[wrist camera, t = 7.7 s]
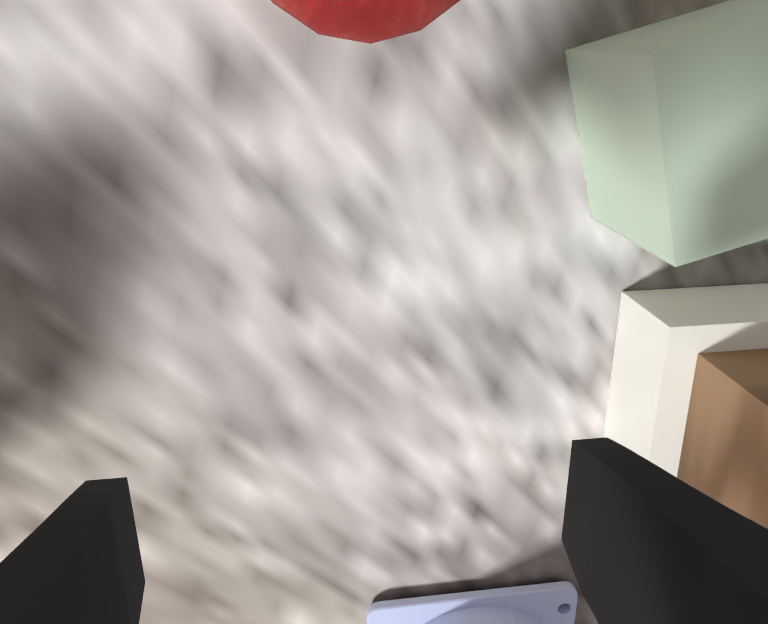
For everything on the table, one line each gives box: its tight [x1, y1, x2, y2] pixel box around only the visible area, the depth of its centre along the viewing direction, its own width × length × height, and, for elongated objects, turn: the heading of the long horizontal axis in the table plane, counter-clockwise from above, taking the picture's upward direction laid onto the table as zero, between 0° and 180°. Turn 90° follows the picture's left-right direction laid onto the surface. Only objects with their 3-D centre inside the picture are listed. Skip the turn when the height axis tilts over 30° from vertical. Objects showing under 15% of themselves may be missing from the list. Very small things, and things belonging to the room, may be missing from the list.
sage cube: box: [565, 0, 768, 267], centre depth 18 cm, size 5×5×5 cm
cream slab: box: [603, 283, 768, 477], centre depth 22 cm, size 7×7×3 cm
